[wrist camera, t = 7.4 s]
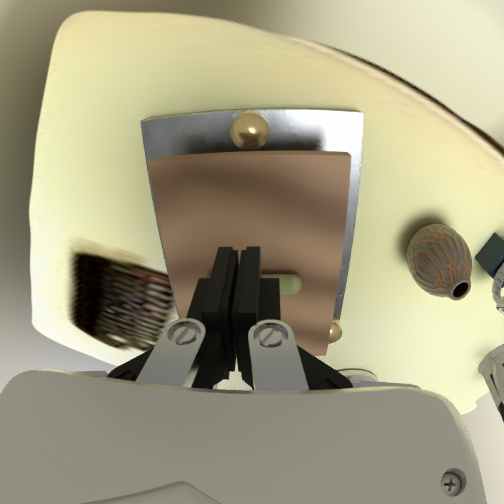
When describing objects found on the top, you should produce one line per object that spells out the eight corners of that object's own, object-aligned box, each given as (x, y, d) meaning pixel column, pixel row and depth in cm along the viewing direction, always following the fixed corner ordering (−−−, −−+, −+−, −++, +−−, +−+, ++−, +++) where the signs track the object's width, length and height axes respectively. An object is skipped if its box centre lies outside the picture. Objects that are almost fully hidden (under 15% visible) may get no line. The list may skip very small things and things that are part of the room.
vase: (424, 203, 28) (466, 246, 21) (460, 232, 30) (499, 276, 22) (387, 252, 32) (416, 305, 24) (425, 275, 33) (455, 325, 26)
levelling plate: (323, 343, 31) (327, 368, 28) (192, 344, 32) (187, 367, 29) (345, 150, 21) (358, 162, 18) (155, 156, 22) (139, 169, 19)
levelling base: (335, 322, 37) (342, 355, 33) (185, 323, 38) (176, 355, 34) (358, 111, 24) (379, 119, 19) (146, 118, 25) (121, 129, 20)
